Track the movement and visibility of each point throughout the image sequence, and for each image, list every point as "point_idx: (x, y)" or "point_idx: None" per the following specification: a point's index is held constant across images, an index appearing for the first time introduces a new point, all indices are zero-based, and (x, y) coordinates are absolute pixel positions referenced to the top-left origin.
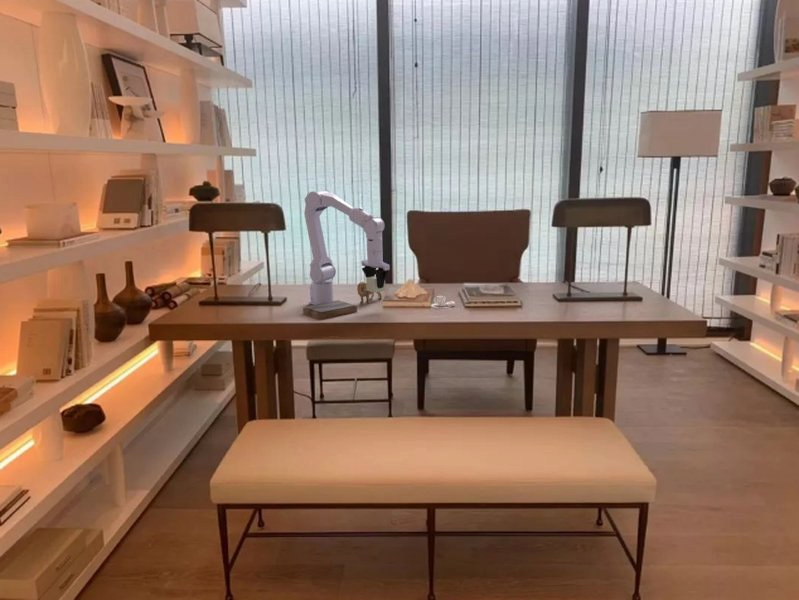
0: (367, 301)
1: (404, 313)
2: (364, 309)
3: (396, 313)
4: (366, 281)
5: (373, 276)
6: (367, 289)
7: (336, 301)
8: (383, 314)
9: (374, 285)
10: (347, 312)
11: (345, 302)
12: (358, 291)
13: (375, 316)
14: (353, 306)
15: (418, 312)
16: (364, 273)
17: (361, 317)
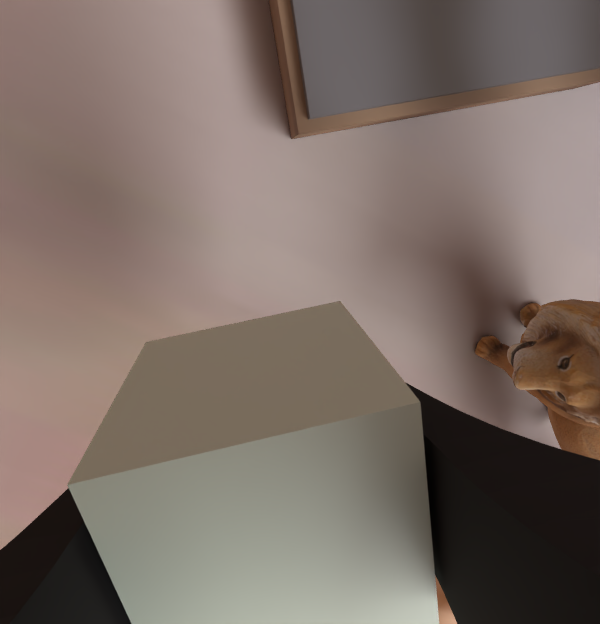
0: (495, 351)
1: (28, 449)
2: (330, 237)
3: (57, 400)
4: (382, 359)
5: (409, 563)
6: (323, 311)
7: (592, 17)
8: (74, 299)
9: (123, 396)
10: (271, 2)
11: (485, 83)
12: (582, 301)
13: (33, 205)
14: (303, 89)
15: (12, 538)
16: (595, 459)
17: (55, 62)
